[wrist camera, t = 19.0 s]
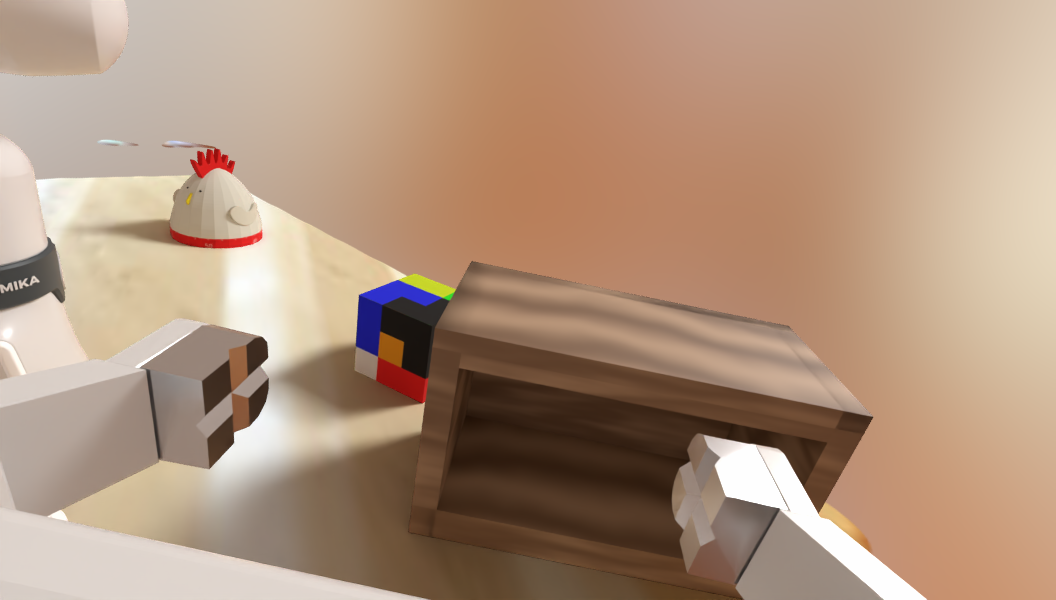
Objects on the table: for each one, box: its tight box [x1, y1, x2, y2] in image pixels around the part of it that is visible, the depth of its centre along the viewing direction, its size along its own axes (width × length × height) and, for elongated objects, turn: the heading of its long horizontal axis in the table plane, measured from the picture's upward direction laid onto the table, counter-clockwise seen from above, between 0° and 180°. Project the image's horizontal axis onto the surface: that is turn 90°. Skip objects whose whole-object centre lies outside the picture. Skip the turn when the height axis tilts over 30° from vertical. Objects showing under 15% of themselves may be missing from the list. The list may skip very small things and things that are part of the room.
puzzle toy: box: [354, 274, 456, 403], centre depth 61 cm, size 10×10×10 cm
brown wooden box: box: [408, 261, 873, 599], centre depth 44 cm, size 14×30×19 cm, turn 86°
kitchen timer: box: [170, 148, 262, 248], centre depth 86 cm, size 14×14×15 cm
